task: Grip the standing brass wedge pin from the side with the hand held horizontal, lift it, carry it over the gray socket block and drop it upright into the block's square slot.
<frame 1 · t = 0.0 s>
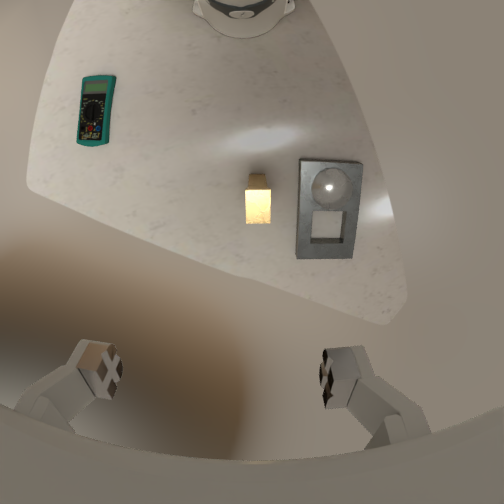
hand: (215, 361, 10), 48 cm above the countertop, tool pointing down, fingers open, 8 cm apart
wedge pin: (257, 184, 56), on the countertop
gray socket block: (326, 209, 58), on the countertop
digital multimeter: (98, 109, 48), on the countertop
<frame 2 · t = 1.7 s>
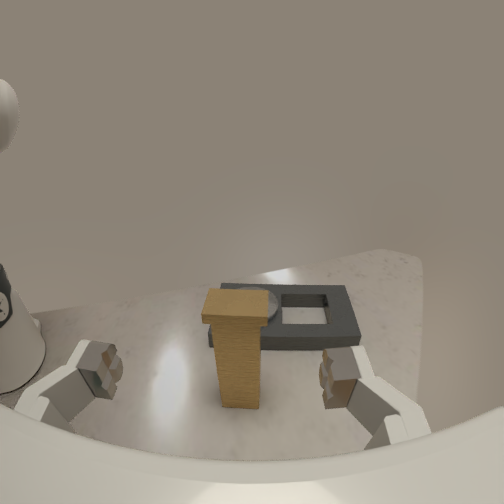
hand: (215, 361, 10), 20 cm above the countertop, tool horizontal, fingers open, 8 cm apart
wedge pin: (241, 397, 30), on the countertop
gray socket block: (284, 321, 43), on the countertop
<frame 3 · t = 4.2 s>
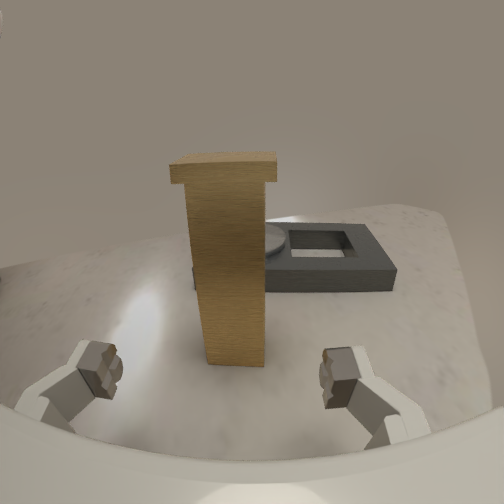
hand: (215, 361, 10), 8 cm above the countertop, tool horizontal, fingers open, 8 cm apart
wedge pin: (237, 351, 21), on the countertop
gray socket block: (293, 262, 33), on the countertop
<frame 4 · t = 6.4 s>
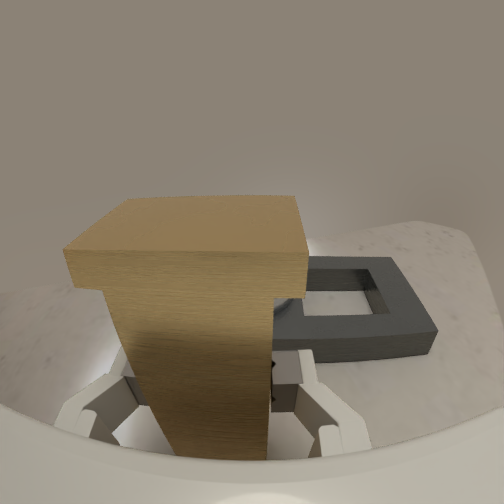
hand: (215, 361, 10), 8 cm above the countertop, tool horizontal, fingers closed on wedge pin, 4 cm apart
wedge pin: (229, 460, 13), on the countertop, touching gripper
gray socket block: (303, 312, 25), on the countertop
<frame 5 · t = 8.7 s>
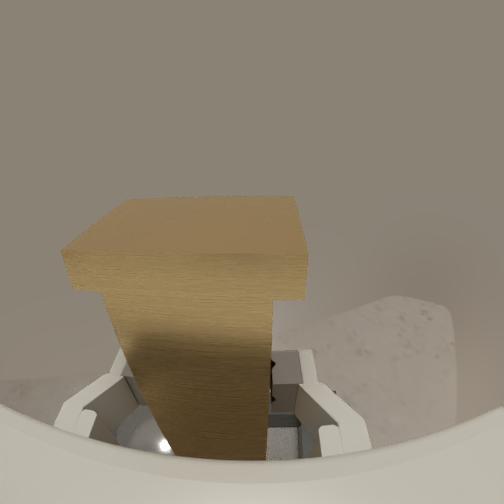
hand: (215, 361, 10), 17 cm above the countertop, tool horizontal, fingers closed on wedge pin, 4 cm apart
wedge pin: (229, 461, 13), point 9 cm above the countertop, touching gripper
gray socket block: (224, 456, 21), on the countertop
when the fingers open (9 cm above the countertop, at t = 11.3 s): wedge pin stays where it is, resting in gray socket block.
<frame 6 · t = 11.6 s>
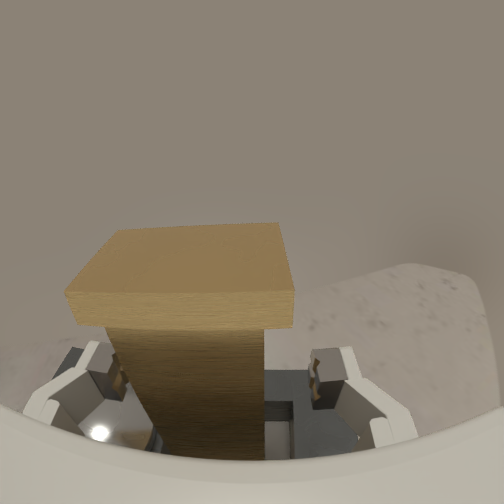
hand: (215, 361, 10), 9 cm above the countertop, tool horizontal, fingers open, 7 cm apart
wedge pin: (229, 465, 14), resting in gray socket block
gray socket block: (181, 459, 14), on the countertop
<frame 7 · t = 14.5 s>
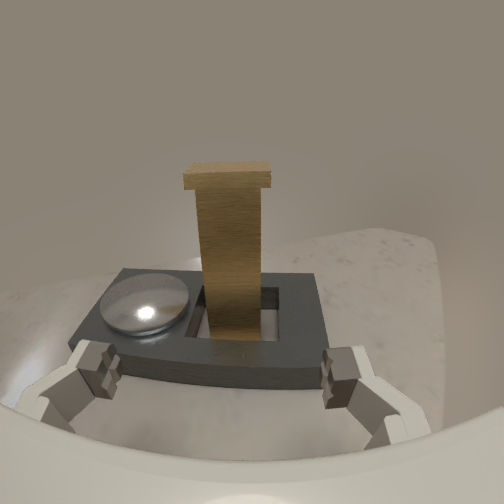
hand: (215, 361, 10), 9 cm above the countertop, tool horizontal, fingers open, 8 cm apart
wedge pin: (236, 333, 25), resting in gray socket block
gray socket block: (203, 330, 25), on the countertop
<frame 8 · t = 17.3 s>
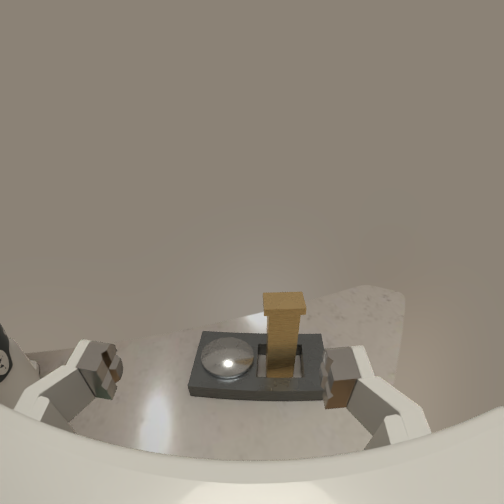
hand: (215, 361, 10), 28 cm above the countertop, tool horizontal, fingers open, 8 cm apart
wedge pin: (278, 370, 43), resting in gray socket block
gray socket block: (260, 370, 44), on the countertop
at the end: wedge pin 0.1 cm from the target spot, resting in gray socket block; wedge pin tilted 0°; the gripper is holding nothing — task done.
